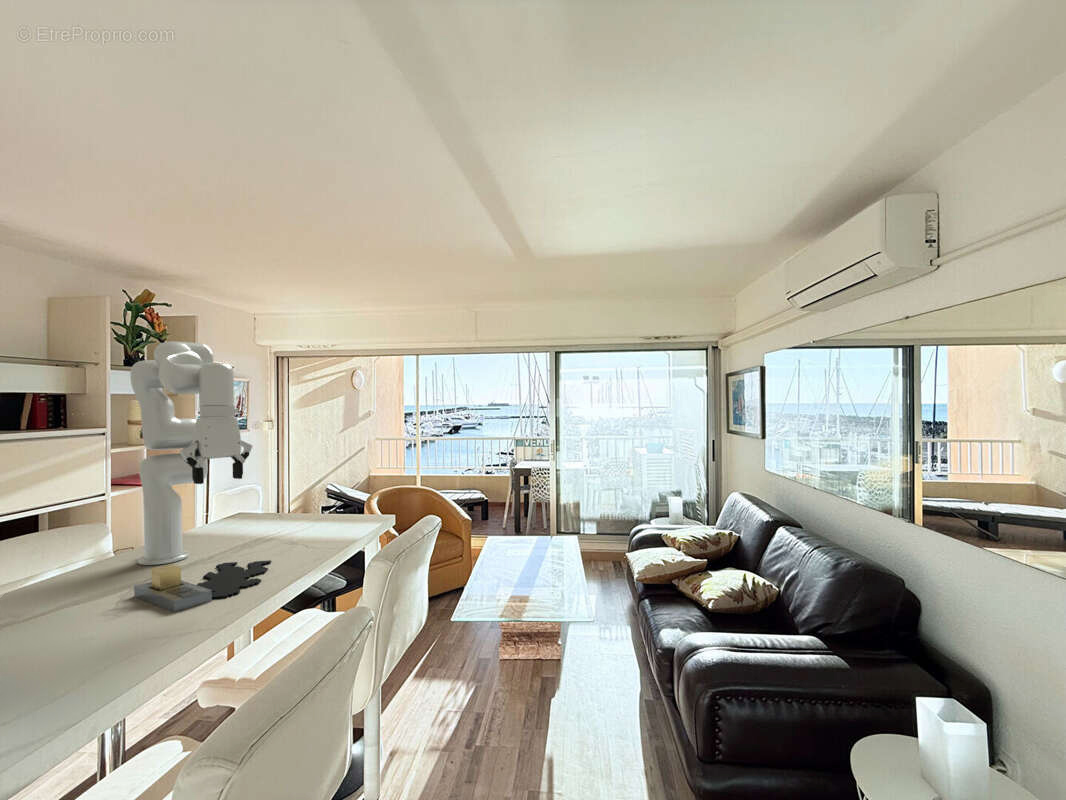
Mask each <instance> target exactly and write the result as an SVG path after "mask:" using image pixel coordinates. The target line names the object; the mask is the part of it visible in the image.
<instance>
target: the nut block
mask: <svg viewBox="0 0 1066 800" xmlns="http://www.w3.org/2000/svg"><path fill="white" fill-rule="evenodd" d="M181 569H182V566H181V565H180V566H179V565H176V564H174V563H168V564H166V565H161V566H157V567H152V568H151V569H150V579H151V580H150V582H151V589H153V590H156V591H158V592H159V591H163V590H166V589H170V588H174V587H177V586H181V580H182V572H181V571H182V570H181Z"/></svg>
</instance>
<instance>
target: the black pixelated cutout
mask: <svg viewBox="0 0 1066 800" xmlns="http://www.w3.org/2000/svg"><path fill="white" fill-rule="evenodd" d="M271 563H272V560H271V559H269V560H259V561H258V560H257V561H253V562H248V564H247V565H246V566H247V568H246V569H245V567H242V566H239V565H238V561H233V562H232V561H231V562H223V563H218V564H217V565H216V566H215V569H216V571H218V572H217V573H215V572H212V571H208V572H207V573H206V574H204V575H203V576H202V578H203V580H204V581H203V582H199V583H196V585H198V586H201V587H204V588H207V589H210V590H212V601H213V600H223V599H224V600H225V599H228V598H230V597H231V598H232V597H234V596H238V595H239V594H241V589H249V588H251V587H252V588H253V587H255V586H259V585H260V583H262V578H256V576H260V575H265V574H266V573H267V572H268V571H269V567H266V566H267V565H271ZM205 580H206V581H205Z"/></svg>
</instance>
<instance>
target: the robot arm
mask: <svg viewBox="0 0 1066 800" xmlns="http://www.w3.org/2000/svg"><path fill="white" fill-rule="evenodd" d="M153 358H154V359H149V360H146V359H145V360H140V361H137V362H135V363H134V364H133V365H132V366H131V369H130V385H131V388H132V391H133V393H134V395H135V397H136V399H137V401H138V404H139V408H140V420H141V422H140V423H141V430H142V433H141V434H142V440H143V445H144V446H145V448H147V449H148V450H151V451H168V450H180V451H179V453H163V454H155V455H154V454H153V455H150V456H147V457H145V458H144V459H143V460H142V461H141V462H140V464H139V467H138V473H139V479H140V483H141V489H142V495H143V496H142V497H143V498H142V499H143V536H144V537H143V543H144V545H143V548H144V549H143V550H144V553H143V554H144V555H143V556H140V557H139V558H138V560H137V563H138V564H139V565H140V566H141V565H142V566H157V565H164V564H166V565H167V564H172V563H175V562H179V561H182V560H184V559H186V558H188V557H189V556H190V555H189V554H190V552H189V551H188V550H184V549H183V548H184V547H183V502H182V501H183V500H182V497H181V496H180V494H179V493H178V492H177V491H176V490H175V489H173V486H177V485H184V484H186V485H187V484H192V483H194V485H195V484H196V485H203V484H204V480H205V479H206V477H207V475H208V471H209V470H208V469H209V468H208V467H209V465H208V460H211V459H214V460H215V459H222V458H231V459H232V460H233V463H232V478H233V479H236V480H237V479H238V480H241V479H243V475H244V463H245V462H246V460H247V458H248V457H249V456H250V453H251V452H252V449H253V444H251V443H248V442H246V441H244V440H242V439H241V431H240V426H239V421H238V418H237V417H235V416H236V414H238V413H239V412H240V408H238V407H236V406H235V392H234V391H235V387H234V386H235V385H234V384H235V383H234V382H235V381H234V378H235V377H234V368H233V366H232V365H230V364H227V363H214V353H213V350H212V349H211V348H210V347H209V346H208V345H207V344H205V343H201V342H188V341H164V342H162V343H160V344H158V345H157V346H156V347H155V349H154V351H153ZM161 389H165V390H166V391H168V392H170V393H173V394H176V395H177V394H178V395H181V394H182V395H194V394H195V395H199V418H191V417H189V418H188V417H186V418H184V417H183V418H178V417H176V414H175V404H174V402H173V400H172V399H171V398H170V396H168V395H167V394H166V393H165V392H164V391H162V390H161ZM242 448H243V450H242ZM242 451H243V452H242Z"/></svg>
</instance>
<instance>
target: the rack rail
mask: <svg viewBox="0 0 1066 800" xmlns="http://www.w3.org/2000/svg"><path fill="white" fill-rule="evenodd" d="M133 597H135V598H138V599H139V600H143V601H145V602H148V603H151V604H153V605H155V606H158V607H161V608H163V609H165V610H168V611H169V612H173V613H176V612H180V611H184V610H186V609H189V608H193V607H196V606H199V605H203V604H206V603H209V602H212V601H213V600H212V590H210V589H207V588H204V587H201V586H198V585H197V584H193V583H191V582H188V581H185V580H182V579H181V586H177V587H174V588H170V589H166V590H163V591H159V592H158V591H156V590H153V589H151V581H148V582H145V583H140V584H138V585H137V584H136V585H134V586H133Z"/></svg>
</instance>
